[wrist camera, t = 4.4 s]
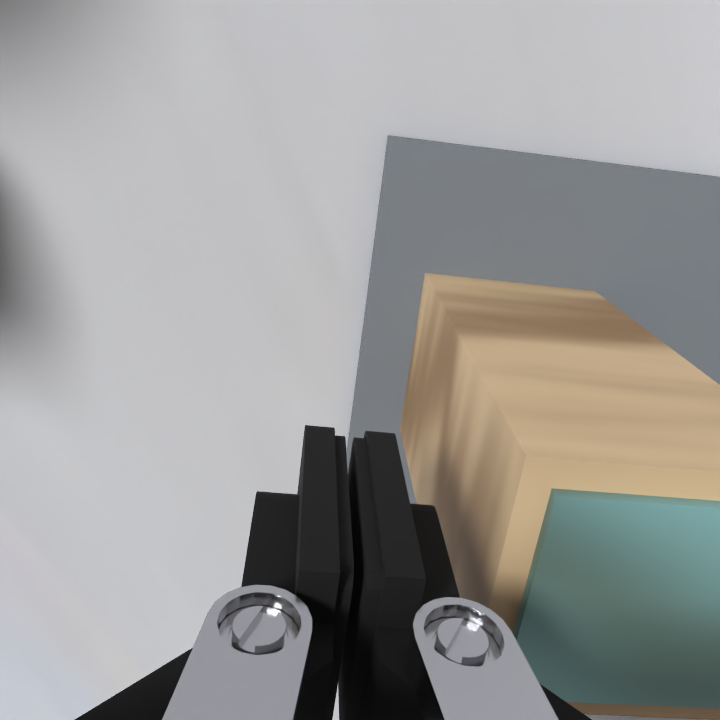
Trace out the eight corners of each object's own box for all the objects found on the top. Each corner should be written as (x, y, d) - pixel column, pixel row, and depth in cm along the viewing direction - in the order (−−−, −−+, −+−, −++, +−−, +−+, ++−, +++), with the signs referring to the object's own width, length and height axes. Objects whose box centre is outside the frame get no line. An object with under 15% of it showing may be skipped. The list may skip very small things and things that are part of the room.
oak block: (424, 273, 19) (530, 464, 9) (594, 290, 19) (858, 489, 10) (399, 429, 21) (465, 719, 11) (554, 441, 21) (743, 731, 12)
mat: (387, 135, 18) (389, 136, 17) (997, 211, 19) (1010, 214, 19) (338, 512, 22) (339, 519, 22) (837, 546, 24) (845, 553, 23)
